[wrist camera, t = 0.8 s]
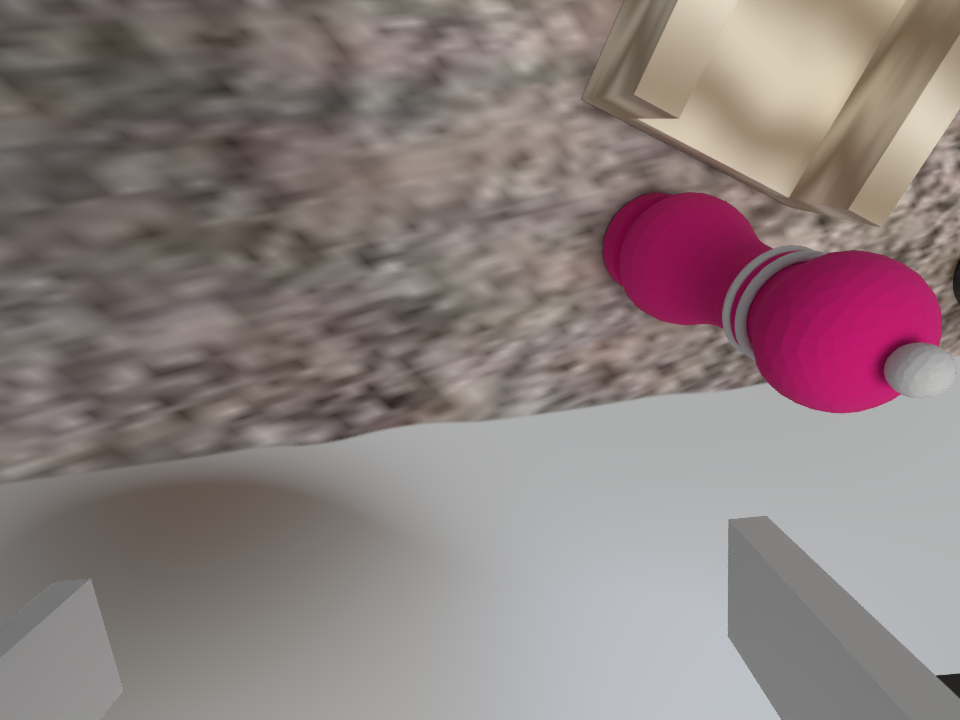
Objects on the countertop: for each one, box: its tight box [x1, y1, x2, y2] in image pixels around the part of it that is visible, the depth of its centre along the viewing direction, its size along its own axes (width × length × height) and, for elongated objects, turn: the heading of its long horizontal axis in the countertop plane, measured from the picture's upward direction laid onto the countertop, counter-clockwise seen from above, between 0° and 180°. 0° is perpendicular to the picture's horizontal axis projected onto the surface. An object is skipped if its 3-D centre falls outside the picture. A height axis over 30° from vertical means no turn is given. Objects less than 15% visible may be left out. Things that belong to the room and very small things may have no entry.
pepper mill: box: [603, 192, 956, 413], centre depth 25 cm, size 7×7×20 cm
